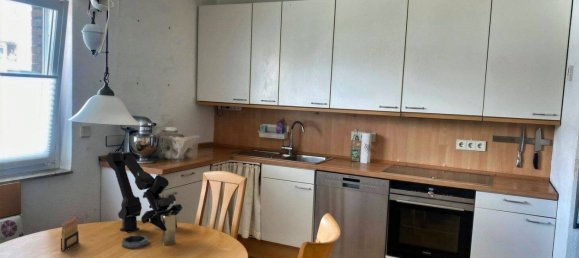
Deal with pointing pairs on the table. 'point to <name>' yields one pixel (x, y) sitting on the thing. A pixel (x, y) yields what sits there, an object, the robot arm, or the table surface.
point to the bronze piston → (168, 229)
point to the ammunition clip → (69, 233)
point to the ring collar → (134, 242)
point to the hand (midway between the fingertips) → (171, 229)
